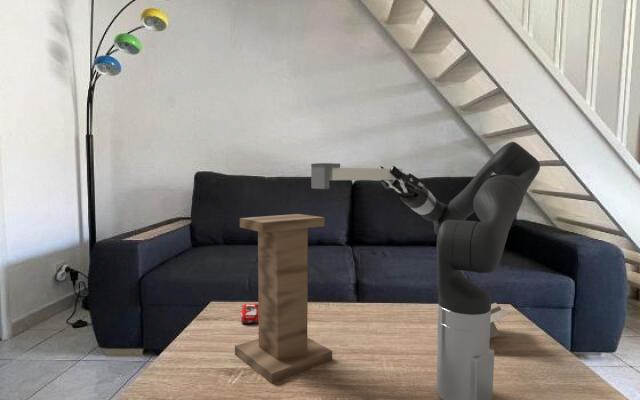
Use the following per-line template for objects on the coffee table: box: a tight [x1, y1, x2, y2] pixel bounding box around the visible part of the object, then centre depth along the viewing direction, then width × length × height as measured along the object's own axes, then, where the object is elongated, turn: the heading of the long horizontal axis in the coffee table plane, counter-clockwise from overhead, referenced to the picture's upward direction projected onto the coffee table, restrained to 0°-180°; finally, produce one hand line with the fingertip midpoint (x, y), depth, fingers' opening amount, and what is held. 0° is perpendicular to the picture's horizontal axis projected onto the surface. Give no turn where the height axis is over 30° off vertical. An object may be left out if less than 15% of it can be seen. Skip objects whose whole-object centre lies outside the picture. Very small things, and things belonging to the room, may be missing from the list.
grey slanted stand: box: [490, 302, 511, 339], centre depth 99 cm, size 16×9×15 cm
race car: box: [240, 302, 259, 324], centre depth 114 cm, size 13×5×4 cm, turn 8°
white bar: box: [310, 162, 404, 190], centre depth 101 cm, size 5×29×6 cm, turn 129°
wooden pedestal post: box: [234, 213, 333, 384], centre depth 88 cm, size 16×16×32 cm
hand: (385, 169), depth 107 cm, fingers closed on white bar, 4 cm apart
